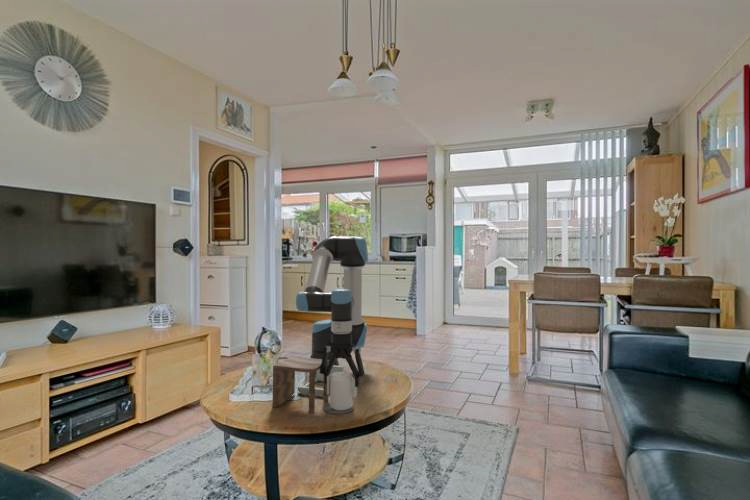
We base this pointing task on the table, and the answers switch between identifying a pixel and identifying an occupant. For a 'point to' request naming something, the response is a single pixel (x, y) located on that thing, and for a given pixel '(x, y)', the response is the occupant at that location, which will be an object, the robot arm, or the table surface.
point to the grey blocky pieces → (318, 378)
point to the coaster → (333, 411)
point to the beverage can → (341, 390)
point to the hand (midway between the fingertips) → (342, 394)
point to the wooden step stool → (286, 379)
